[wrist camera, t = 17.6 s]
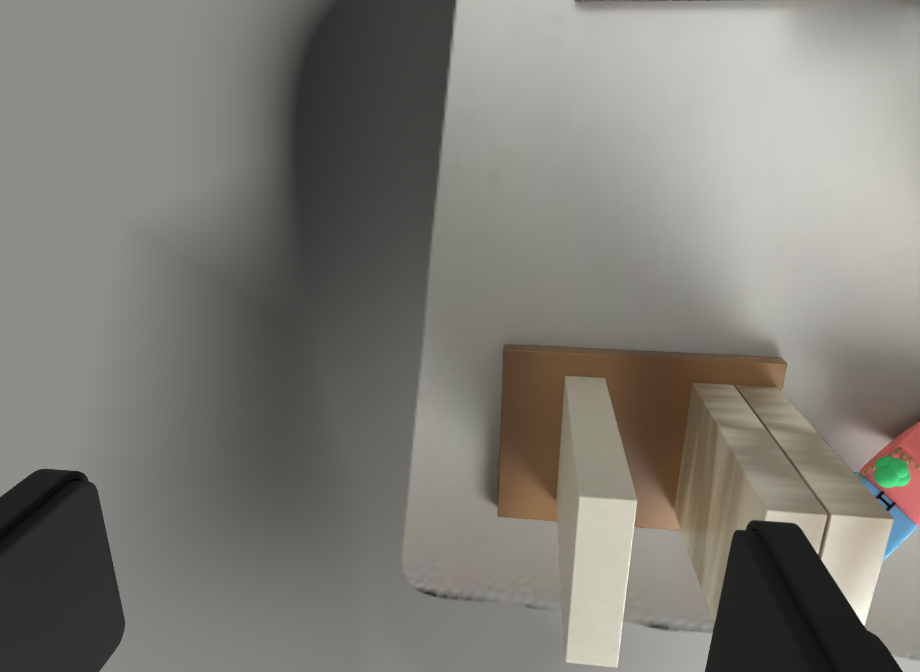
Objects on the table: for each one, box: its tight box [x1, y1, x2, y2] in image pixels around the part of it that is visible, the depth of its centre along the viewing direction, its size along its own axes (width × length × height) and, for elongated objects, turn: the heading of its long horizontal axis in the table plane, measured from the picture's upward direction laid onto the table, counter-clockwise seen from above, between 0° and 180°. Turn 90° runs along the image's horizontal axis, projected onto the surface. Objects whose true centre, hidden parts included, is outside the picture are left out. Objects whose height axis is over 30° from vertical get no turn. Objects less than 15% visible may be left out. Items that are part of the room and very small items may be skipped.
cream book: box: [556, 376, 637, 667], centre depth 34 cm, size 2×9×13 cm, turn 0°
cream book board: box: [498, 344, 894, 625], centre depth 34 cm, size 16×12×14 cm
